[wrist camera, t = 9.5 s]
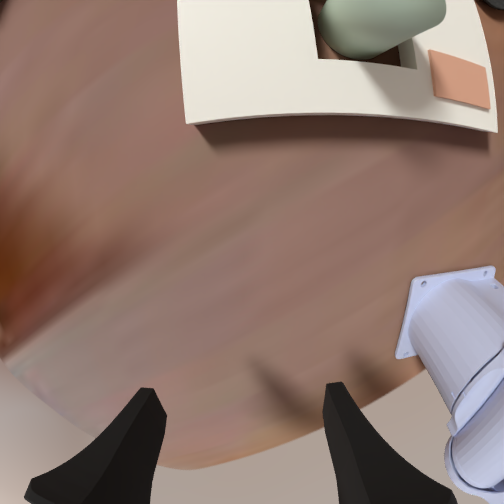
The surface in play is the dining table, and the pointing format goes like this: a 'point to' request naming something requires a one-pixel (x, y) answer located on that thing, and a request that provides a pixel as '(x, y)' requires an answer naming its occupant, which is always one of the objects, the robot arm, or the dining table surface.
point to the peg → (376, 24)
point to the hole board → (328, 68)
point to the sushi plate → (496, 4)
